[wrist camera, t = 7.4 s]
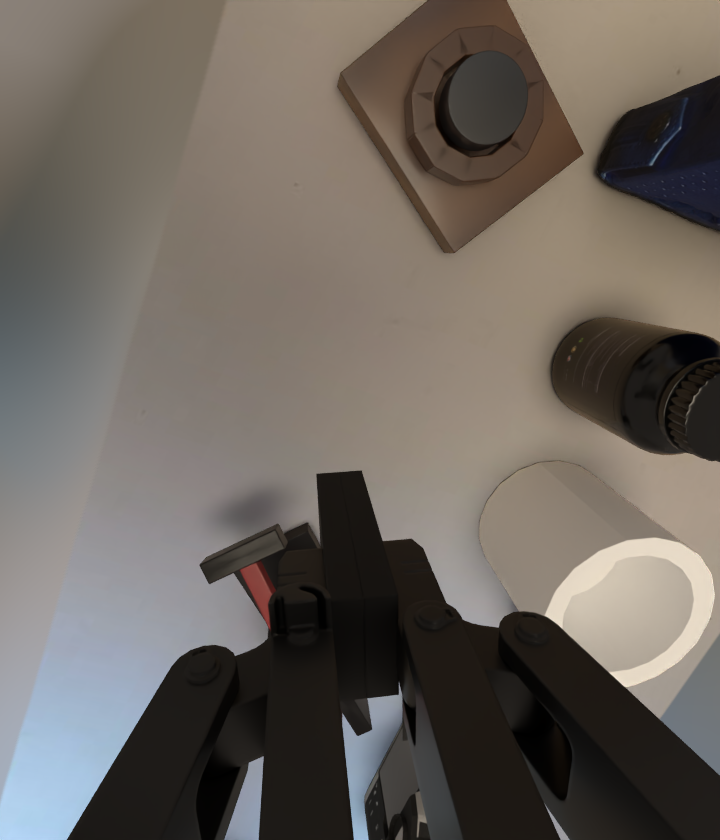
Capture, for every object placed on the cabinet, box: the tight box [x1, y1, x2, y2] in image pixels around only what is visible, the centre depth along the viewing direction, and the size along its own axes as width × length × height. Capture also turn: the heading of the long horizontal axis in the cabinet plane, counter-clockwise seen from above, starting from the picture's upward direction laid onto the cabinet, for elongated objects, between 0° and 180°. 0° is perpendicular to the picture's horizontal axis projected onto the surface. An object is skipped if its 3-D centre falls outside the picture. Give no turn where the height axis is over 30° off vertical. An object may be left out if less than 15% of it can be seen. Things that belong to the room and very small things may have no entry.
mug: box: [479, 461, 715, 687], centre depth 35 cm, size 14×10×11 cm
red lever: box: [200, 524, 342, 718], centre depth 31 cm, size 12×5×2 cm, turn 25°
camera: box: [364, 723, 431, 840], centre depth 40 cm, size 16×9×10 cm, turn 158°
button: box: [439, 50, 528, 151], centre depth 26 cm, size 4×4×2 cm
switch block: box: [337, 0, 583, 253], centre depth 28 cm, size 11×9×4 cm
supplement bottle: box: [552, 318, 720, 462], centre depth 30 cm, size 7×7×12 cm
